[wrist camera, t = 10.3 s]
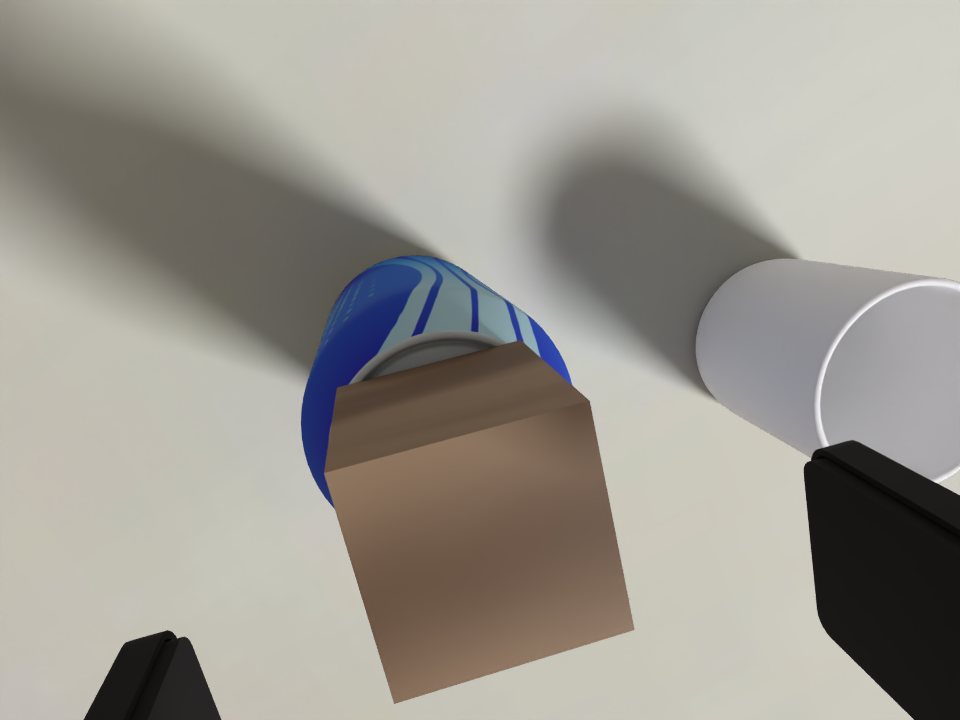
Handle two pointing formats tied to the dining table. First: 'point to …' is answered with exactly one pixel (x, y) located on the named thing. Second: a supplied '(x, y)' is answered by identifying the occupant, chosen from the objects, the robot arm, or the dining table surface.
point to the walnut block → (475, 517)
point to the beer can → (406, 335)
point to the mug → (839, 358)
